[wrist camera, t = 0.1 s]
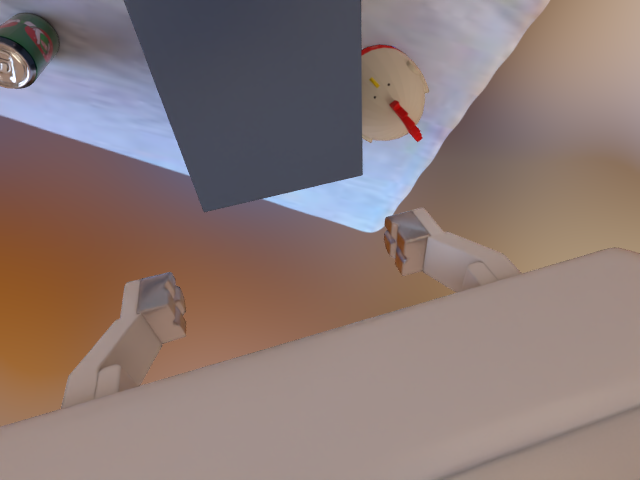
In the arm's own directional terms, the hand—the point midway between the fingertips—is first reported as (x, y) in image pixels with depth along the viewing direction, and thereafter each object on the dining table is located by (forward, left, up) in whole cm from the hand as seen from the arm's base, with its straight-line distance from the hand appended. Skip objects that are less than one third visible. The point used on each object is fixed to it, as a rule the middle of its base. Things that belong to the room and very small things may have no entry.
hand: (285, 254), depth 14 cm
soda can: (0, -21, -48) cm, 53 cm away
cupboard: (-1, +3, -48) cm, 48 cm away
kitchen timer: (+15, +23, -48) cm, 56 cm away
